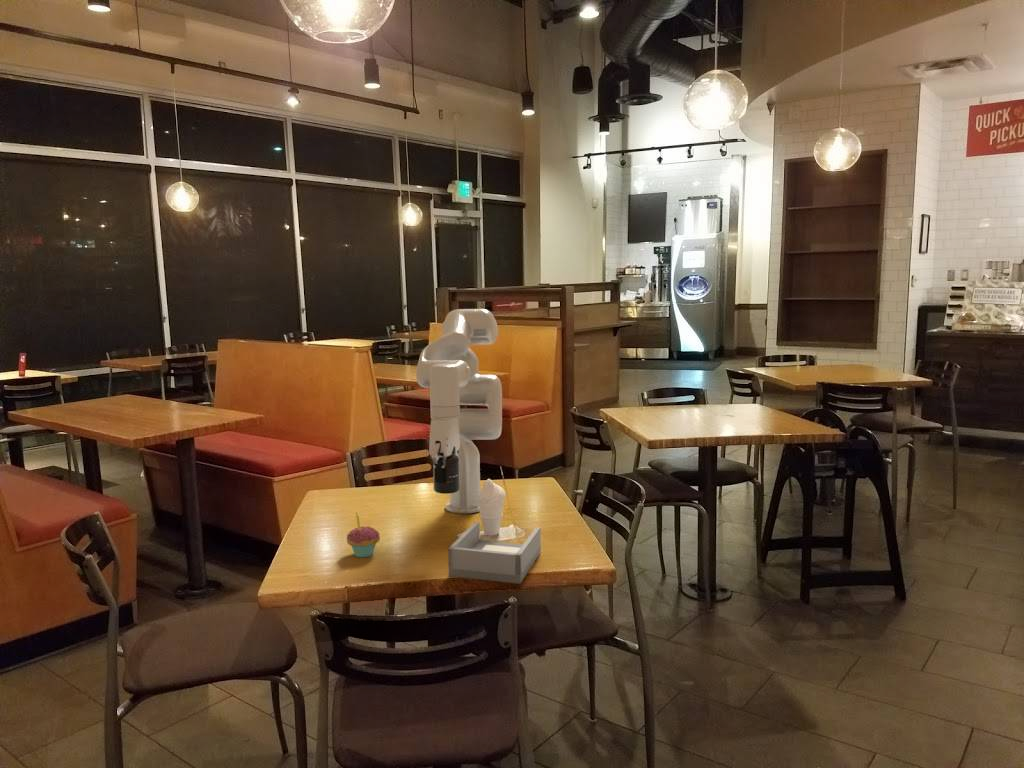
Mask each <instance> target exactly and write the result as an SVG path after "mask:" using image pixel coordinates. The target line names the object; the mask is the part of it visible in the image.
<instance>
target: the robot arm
mask: <svg viewBox="0 0 1024 768" xmlns="http://www.w3.org/2000/svg"><path fill="white" fill-rule="evenodd" d="M440 335H441V336H440V337H438V338H437V339H435V340H433V341H432V342H431V343H429V344H428V345H427V346H425V347H424V348H423V349H422V350H421V352H420V354H419V357H418V358H419V359H418V363H417V365H416V372H415V377H416V381H417V383H418V385H419V386H420V387H422V388H423V389H424V388H425V389H429V400H430V401H429V402H430V403H429V404H430V419H431V420H430V425H429V442H428V443H429V447H428V448H429V456H430V457H431V460H432V463H434V468H435V482H436V483H447V468H445V466H446V459H447V457H448V456H450V455H452V451H453V447H455V451H456V453H455V455H457V456H458V457H459V467H460V489H459V491H457V492H455V493H449V501H448V502H446V503H445V505H444V506H445V510H446V511H447V512H450V513H452V514H453V513H454V514H461V515H463V514H465V515H466V514H474V513H480V511H479V505H478V500H477V499H476V497H477V495H476V494H477V492H478V490H479V489H481V472H480V471H481V468H480V467H481V466H480V464H481V461H480V457H481V456H480V452H479V449H478V447H477V446H476V445H475V444H474V442H473V440H478V441H479V440H497V439H499V437H500V436H501V435H502V430H503V387H502V382H501V380H500V378H499V376H497V375H495V374H480V373H479V358H478V356H477V355H476V354H475V352H474V350H472V349H471V348H470V347H471V346H473V345H475V346H477V345H484V346H485V345H492V344H493V345H494V344H495V343H496V341H497V340H498V335H499V327H498V323H497V321H496V318H495V316H494V315H493V313H492V312H491V311H490V310H488V309H485V308H463V309H462V308H459V309H453V310H451V311H449V312H448V313H447V314H446V316H445V318H444V321H443V322H442V326H441V334H440ZM461 405H462V406H473V405H474V406H487V408H461V407H460V406H461ZM439 454H444V455H443V456H441V455H439ZM440 459H443V461H441V460H440Z"/></svg>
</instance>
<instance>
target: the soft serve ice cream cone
mask: <svg viewBox="0 0 1024 768" xmlns="http://www.w3.org/2000/svg"><path fill="white" fill-rule="evenodd" d="M476 495H477V497H476V499H477V500H478V505H479V517H480V522H481V526H482V530H483V534H484V535H485V536H489V537H491V536H492V537H494V536H497V534H498V535H499V534H500V530H501V523H502V519H503V518H502V517H503V516H504V514H503V510H504V503H505V500H506V491H505V490H504V488H503V487H501V486H500V485H498V484H496V483H494V482H493V481H492V479H490V478H488V479H486V480H485V481H484V483H483V485H482V486H481V487H480V489H479V490H478V492H477V494H476Z"/></svg>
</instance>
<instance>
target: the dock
mask: <svg viewBox="0 0 1024 768" xmlns="http://www.w3.org/2000/svg"><path fill="white" fill-rule="evenodd" d="M480 528H481V527H480V522H479V521H474V522H473V523H472V524H471V525H470V526H469V527H468V528H467V529H466V530H465V531H464V532H463V533H462V534H461V535H460V536H459V537H458V538H457V539H456V540H455V541H454V542H453V543H452V544H451V545H450V546H449V547H448V548H447V549H448V550H447V551H448V552H447V553H448V556H447V557H448V560H447V561H448V577H455V578H464V579H473V580H480V581H481V580H483V581H492V582H501V583H511V584H518V585H521V584H522V582H523V581H524V579H525V578H526V576H527V574H528V573H529V571H530V570H531V568H532V567H533V565H534V564H535V562H536V561H537V559H538V558H539V556H540V555H541V553H542V552H541V550H542V549H541V527H540V526H535V528H534V529H533V530H532V532H531V533H530V534H529V536H527V539H525V541H524V542H523V543H515V542H507V541H506V542H505V541H504V542H503V541H494V540H492V541H491V540H485V539H484V540H482V539H481V535H480V531H481V530H480ZM540 552H541V553H540ZM539 554H540V555H539ZM538 555H539V556H538ZM537 557H538V558H537ZM536 558H537V559H536ZM535 560H536V561H535ZM534 561H535V562H534ZM533 563H534V564H533ZM532 564H533V565H532ZM531 566H532V567H531ZM529 569H530V570H529ZM527 572H528V573H527Z"/></svg>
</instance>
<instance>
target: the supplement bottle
mask: <svg viewBox="0 0 1024 768" xmlns="http://www.w3.org/2000/svg"><path fill="white" fill-rule="evenodd" d="M455 453H456V451H455V447H453V451H452V455H450V456H448V457H447V459H446V466H445V468H447V483H436V482H435V468H434V463H433V462H432V463H433V464H432V466H433V471H432V472H433V475H432V476H433V490H434V492H435V493H438V494H447V495H448V494H449V495H450V493H455V492H457V491H459V489H460V467H459V457H458V456H457V455H455ZM439 455H441V456H443V455H444V454H439ZM440 460H441V461H443V459H440Z"/></svg>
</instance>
